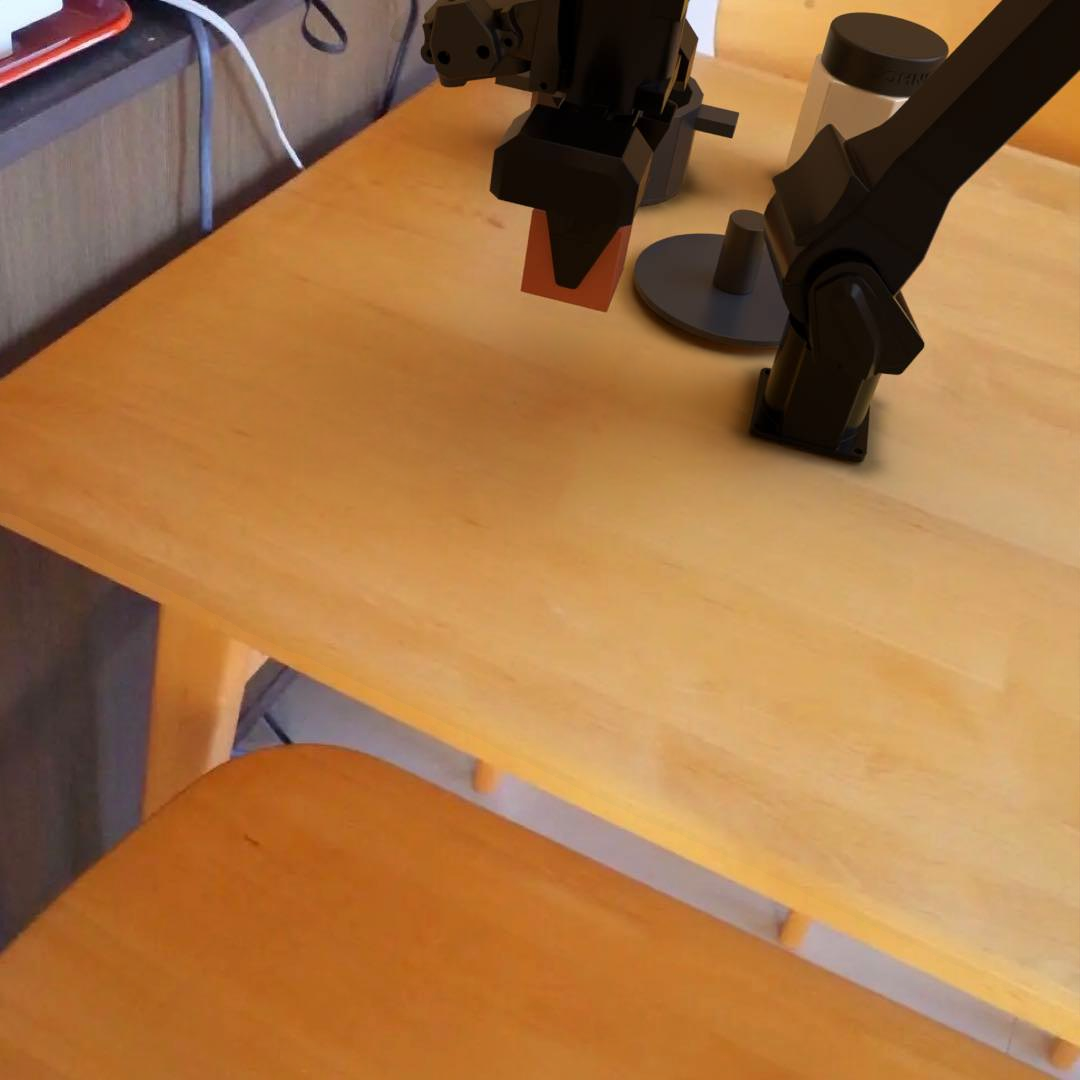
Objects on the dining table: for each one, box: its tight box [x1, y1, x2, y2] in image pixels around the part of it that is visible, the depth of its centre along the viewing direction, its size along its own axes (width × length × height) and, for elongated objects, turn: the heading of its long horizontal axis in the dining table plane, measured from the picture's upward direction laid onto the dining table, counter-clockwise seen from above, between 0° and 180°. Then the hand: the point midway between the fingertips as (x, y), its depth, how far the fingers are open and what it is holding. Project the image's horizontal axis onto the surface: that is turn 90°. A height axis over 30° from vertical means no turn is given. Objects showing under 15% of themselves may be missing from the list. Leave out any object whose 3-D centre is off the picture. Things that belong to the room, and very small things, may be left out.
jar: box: [783, 11, 950, 171], centre depth 89 cm, size 9×8×12 cm
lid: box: [633, 208, 789, 349], centre depth 78 cm, size 13×13×6 cm
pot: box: [494, 71, 740, 207], centre depth 89 cm, size 12×17×6 cm
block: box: [520, 208, 634, 314], centre depth 63 cm, size 4×4×4 cm
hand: (576, 263), depth 64 cm, fingers closed on block, 4 cm apart
